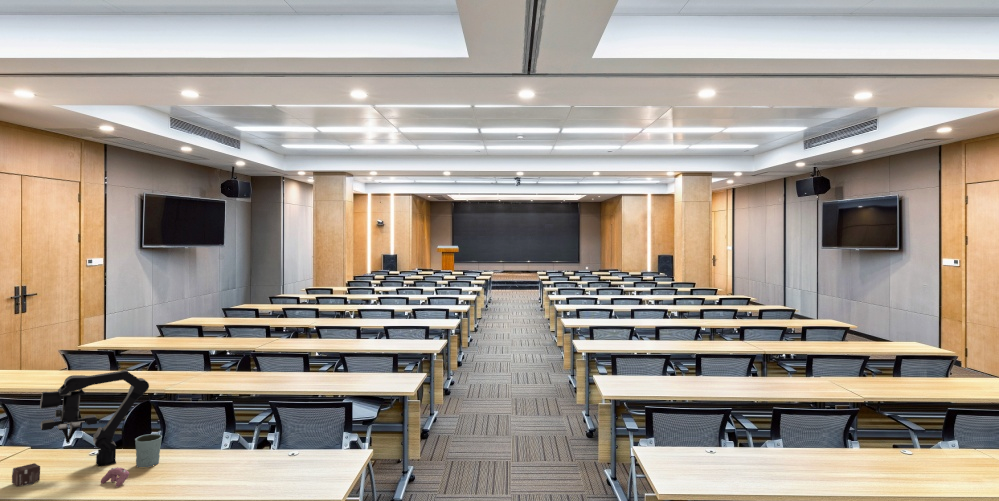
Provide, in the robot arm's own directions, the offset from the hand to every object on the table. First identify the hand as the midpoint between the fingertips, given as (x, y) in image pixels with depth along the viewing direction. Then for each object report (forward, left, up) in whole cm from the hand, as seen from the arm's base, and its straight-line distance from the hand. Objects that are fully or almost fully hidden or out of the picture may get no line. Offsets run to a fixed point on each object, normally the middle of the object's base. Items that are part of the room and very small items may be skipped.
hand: (67, 442), depth 236 cm
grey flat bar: (+13, +3, -12) cm, 18 cm away
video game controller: (-14, +27, -13) cm, 33 cm away
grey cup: (-28, +12, -12) cm, 33 cm away
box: (+10, +5, -9) cm, 14 cm away
